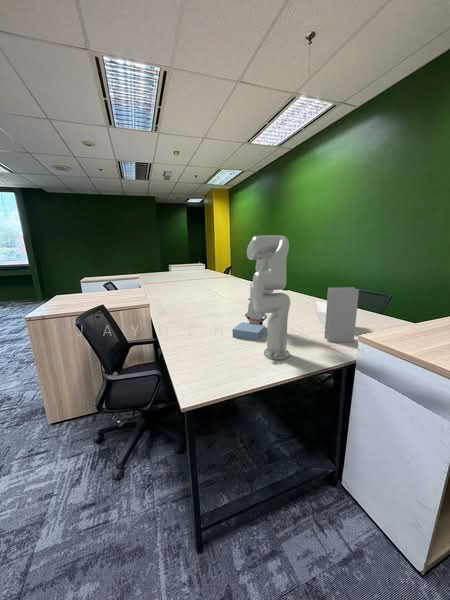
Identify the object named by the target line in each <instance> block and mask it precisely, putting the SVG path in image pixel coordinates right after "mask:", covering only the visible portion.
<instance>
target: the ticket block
mask: <svg viewBox="0 0 450 600" xmlns="http://www.w3.org/2000/svg"><path fill="white" fill-rule="evenodd" d="M265 333H266V325H265V324H263V325H258V324H249V322H240V323H239V324H237V325H236V326H234V327H233V328H232V338H236V339H243V340H248V341H249V340H250V341H254V342H255V341H256V342H258V341H259V340H260V339H261V338H262V337H263V336H264V335H265Z"/></svg>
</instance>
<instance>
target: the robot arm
mask: <svg viewBox="0 0 450 600" xmlns="http://www.w3.org/2000/svg"><path fill="white" fill-rule="evenodd" d="M289 249H290V242H289V239H288V237H286V236H284V235H279V234H277V235H276V234H275V235H274V234H273V235H272V234H271V235H268V234H267V235H255V236H253V237H252V238H251V240H250V242H249V244H248V245H247V249H246V257H247V259H248V260H249V261H252V260H253V261H254V260H256V263H255V272H254V274H253V277H252V281H251V282H250V283H249V284H250V286H249V293H250V294H249V297H250V298H248V299H247V300H248V301H249V302H248V307H247V312H246V313H245V314H244V316H245V318H246V319H247V320H248V322H249V321H250V320H251V319H252V318H257V319H260V325H264V323H263V322H264V321H265V320H266V319H267V330H266V333H267V336H266V338H267V339H266V348H265V349H264V351H263V354H264V356H265V357H266V358H268V359H270V360H278V361H283V360H286V359H288V358H289V357H290V351H289V350H288V349H287V341H288V339H287V338H288V319H289V318H288V317H289V311H290V307H291V298H290V295H288V294H287V293H284V292H274V291H277V290H278V291H280V290H283V289H285V288H286V286H287V257H288V254H289ZM267 314H270V315H269V316H268V315H267Z"/></svg>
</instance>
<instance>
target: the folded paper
mask: <svg viewBox="0 0 450 600" xmlns="http://www.w3.org/2000/svg"><path fill="white" fill-rule="evenodd" d="M326 309H327V302H323V301H318V300H316V301H315V314H316V316H317V318H318V320H319V323H320V324H321V325H322V324H323V325H325V323H326Z"/></svg>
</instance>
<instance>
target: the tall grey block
mask: <svg viewBox="0 0 450 600" xmlns="http://www.w3.org/2000/svg"><path fill="white" fill-rule="evenodd" d="M359 293H360V288H356V287H328V288H327V296H326V298H327V299H326V303H327V309H326V323H325V324H324V336H323V338H324V339H326V342H327V343H328V342H329V343H354V340H355V333H356V332H355V329H356V321H357V313H358V302H359V295H360V294H359Z"/></svg>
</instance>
